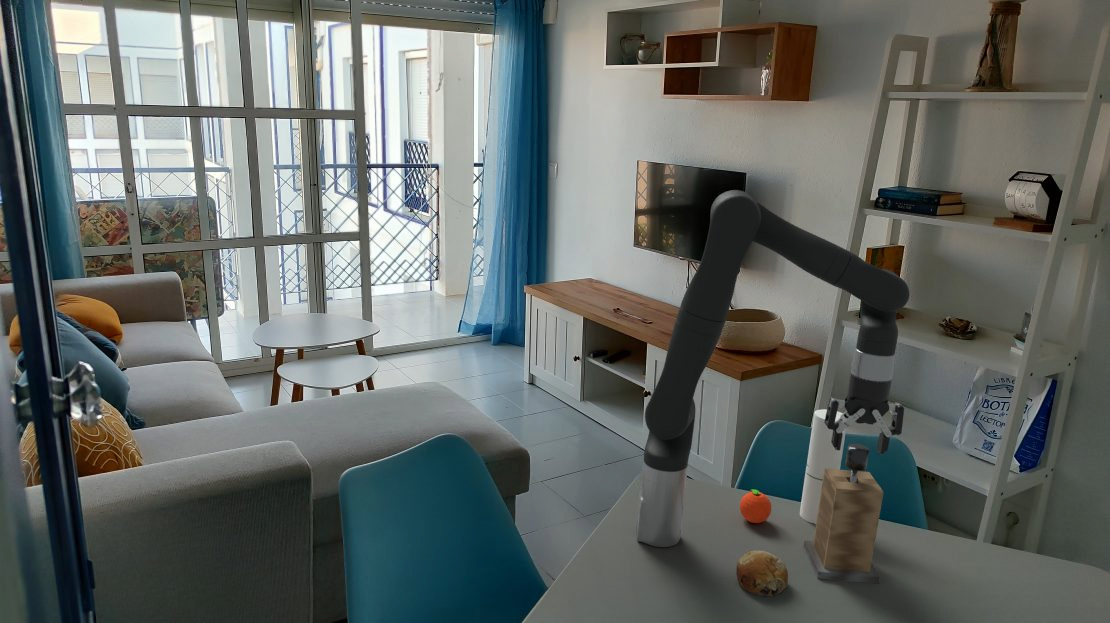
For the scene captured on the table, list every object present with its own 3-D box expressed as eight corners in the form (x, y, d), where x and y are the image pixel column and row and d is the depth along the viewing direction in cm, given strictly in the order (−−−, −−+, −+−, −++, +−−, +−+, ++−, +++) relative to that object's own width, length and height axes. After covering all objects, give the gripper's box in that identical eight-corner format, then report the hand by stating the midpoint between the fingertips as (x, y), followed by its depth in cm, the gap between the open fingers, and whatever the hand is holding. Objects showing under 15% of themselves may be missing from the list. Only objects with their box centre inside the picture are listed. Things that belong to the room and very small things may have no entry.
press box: (817, 578, 159) (830, 491, 155) (803, 546, 171) (815, 464, 166) (878, 583, 159) (894, 496, 154) (860, 551, 170) (874, 469, 166)
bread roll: (785, 596, 159) (791, 555, 160) (785, 602, 149) (791, 559, 151) (734, 584, 162) (741, 544, 163) (731, 590, 152) (738, 547, 154)
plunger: (828, 563, 161) (845, 453, 155) (819, 545, 168) (835, 439, 162) (863, 566, 161) (882, 456, 155) (853, 547, 167) (870, 442, 162)
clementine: (732, 511, 184) (735, 483, 183) (761, 511, 185) (765, 483, 184) (744, 529, 177) (747, 499, 175) (774, 529, 178) (778, 499, 176)
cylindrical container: (827, 510, 187) (843, 410, 181) (835, 526, 180) (851, 422, 174) (796, 507, 188) (811, 408, 182) (802, 522, 181) (818, 419, 175)
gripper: (839, 376, 151) (827, 455, 155) (916, 382, 150) (901, 461, 154) (829, 364, 158) (817, 440, 162) (902, 370, 158) (888, 446, 162)
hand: (858, 450), depth 158 cm, fingers open, 8 cm apart
